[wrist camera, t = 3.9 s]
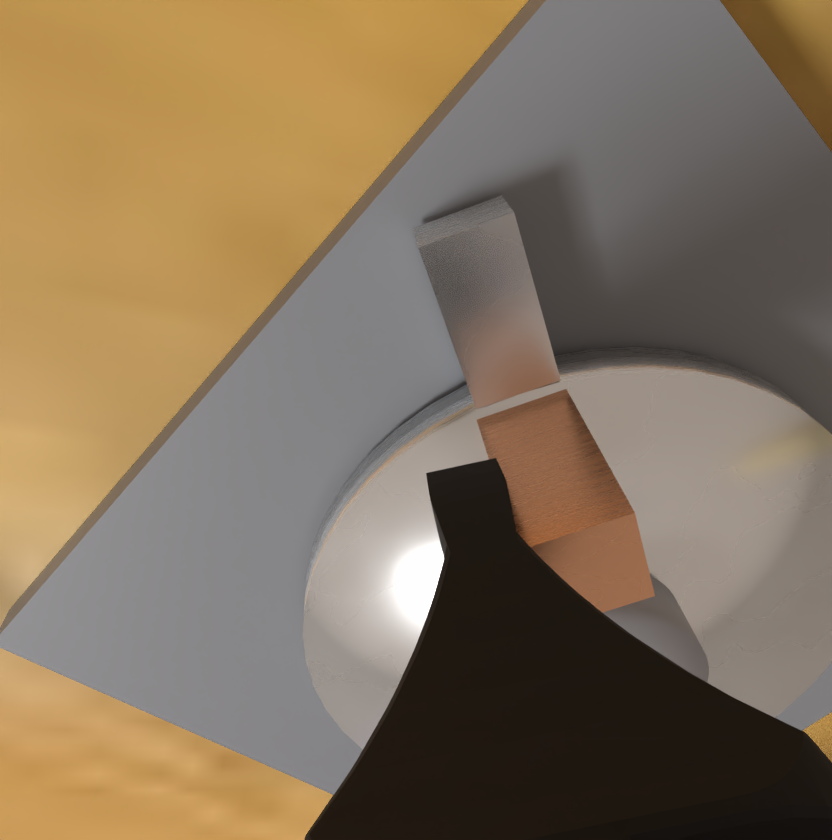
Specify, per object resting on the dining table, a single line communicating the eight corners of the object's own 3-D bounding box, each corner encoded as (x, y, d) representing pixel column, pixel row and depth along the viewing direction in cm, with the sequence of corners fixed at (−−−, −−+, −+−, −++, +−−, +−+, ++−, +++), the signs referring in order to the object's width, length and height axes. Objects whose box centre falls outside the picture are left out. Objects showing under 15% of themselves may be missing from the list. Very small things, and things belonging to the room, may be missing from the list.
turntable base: (541, 857, 24) (572, 994, 21) (9, 610, 17) (-70, 762, 14) (1077, 508, 18) (1237, 624, 15) (616, -103, 11) (734, -135, 8)
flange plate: (413, 811, 20) (430, 1004, 16) (117, 338, 12) (23, 494, 9) (856, 681, 19) (985, 856, 15) (830, 72, 11) (1075, 121, 8)
